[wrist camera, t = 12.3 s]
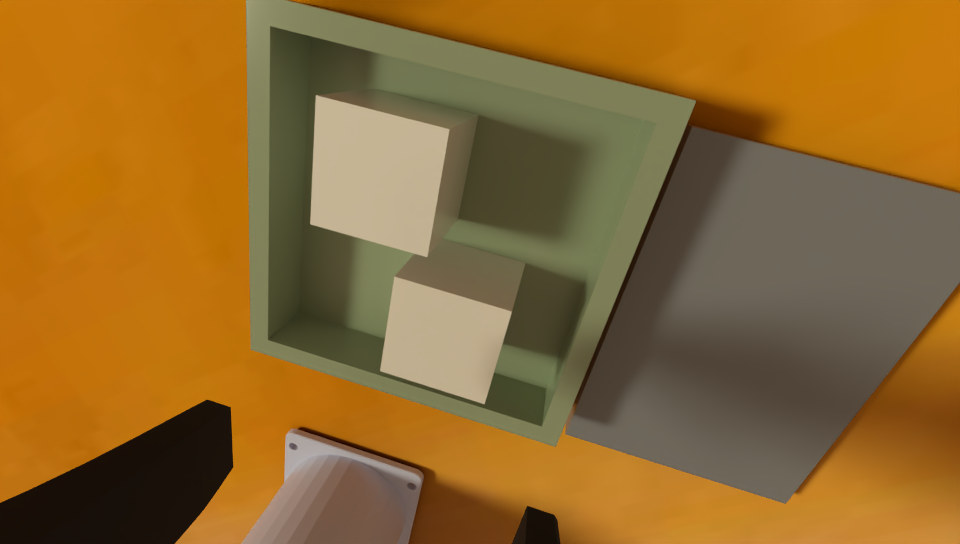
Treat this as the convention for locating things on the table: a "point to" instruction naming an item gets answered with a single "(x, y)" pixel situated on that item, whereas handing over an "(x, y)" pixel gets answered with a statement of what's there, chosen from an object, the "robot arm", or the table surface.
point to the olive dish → (483, 212)
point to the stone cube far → (450, 318)
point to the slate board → (764, 310)
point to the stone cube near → (389, 167)
